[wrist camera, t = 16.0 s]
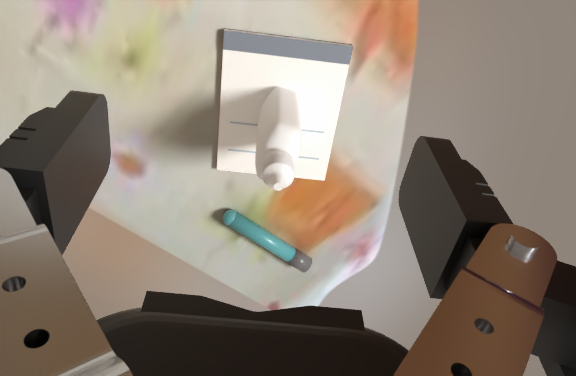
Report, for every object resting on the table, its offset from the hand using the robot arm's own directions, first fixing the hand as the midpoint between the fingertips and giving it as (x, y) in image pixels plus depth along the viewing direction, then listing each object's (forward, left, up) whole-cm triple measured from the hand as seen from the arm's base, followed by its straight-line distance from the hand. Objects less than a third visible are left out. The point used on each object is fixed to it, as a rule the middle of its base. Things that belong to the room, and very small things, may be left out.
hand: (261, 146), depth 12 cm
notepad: (+2, -13, -30) cm, 33 cm away
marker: (+3, -29, -30) cm, 42 cm away
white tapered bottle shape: (+2, -13, -30) cm, 32 cm away
